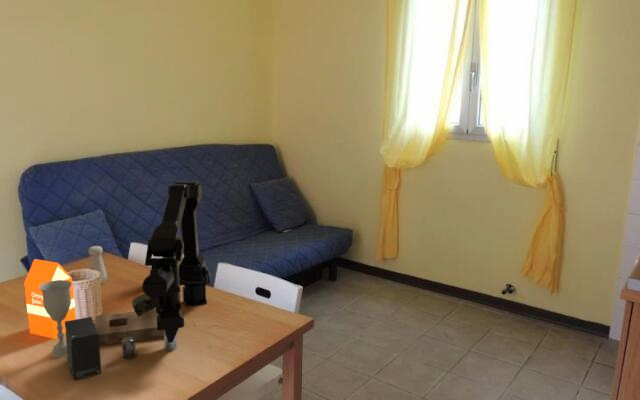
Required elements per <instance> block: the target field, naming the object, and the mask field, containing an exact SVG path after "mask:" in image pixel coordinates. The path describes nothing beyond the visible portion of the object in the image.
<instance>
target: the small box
mask: <svg viewBox="0 0 640 400" xmlns="http://www.w3.org/2000/svg"><path fill="white" fill-rule="evenodd" d="M94 323H95V321H94V320H93V318H92V316H89V317H88V316H87V317H82V318H78V319H77V318H76V320H70V321H65V330H66V333H65V341H66V342H67V356H66V357H67V359H66V360H67V363H68V367H69V372H70V375H71V377H72V378H71V379H72V380H73V381H76V380H81V379H84V378H87V377H88V378H89V377H92V376H95V375H99V374H102V366H101V365H102V362H101V348H100V347H101V345H99V333H98V331H97V329H96V326H95V324H94Z"/></svg>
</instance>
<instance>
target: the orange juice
mask: <svg viewBox="0 0 640 400" xmlns="http://www.w3.org/2000/svg"><path fill="white" fill-rule="evenodd" d="M56 280H66V281H70V282H71V286H70V297H71V304H70V308H69V311H68V313H67V315H66V318H65V319H64V320H62V322H61V323H62V326H63V329H62V332H63V333H64V334H66V330H65V321H70V320H76V319H77V318H76V305H75V304H76V303H75V296H74V285H73V277H71V276H70V275H69V273H68V272H67V271H66V270H65V269H64V268H63V266H61V265H60V264H59V262H54V261H48V260H43V259H38V258H37V259H36V258H34V259H33V261H32V264H31V266H30V269H29V271H28V273H27V275H26V277H25V280H24V282H23V284H24V285H23V286H24V293H25V301H26V311H27V319H28V327H29V334H31V335H32V334H33V335H37V336H40V337H46V338H50V339H54V340H55V339H57V338H58V336H57V334H58V330H57V329H56V328H57V321H53V320H52V318H51V317H50V316H49V314H48V313H47V311H46V310H45V308H44V304H43V294H42V291H41V290H40V288H39V286H40V285H42V284H44V283H46V282H50V281H56Z"/></svg>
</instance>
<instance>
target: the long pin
mask: <svg viewBox="0 0 640 400" xmlns="http://www.w3.org/2000/svg"><path fill="white" fill-rule="evenodd" d="M163 339H164V340H163V341H164V351H165V352H173V351H176V350H177V348H178V346H177V345H178V344H177V343H178V342H177V335H176V336H175V338H174V341H173V342H171V343H169V342H168V339H167V336H166V333H165V330H164V337H163Z"/></svg>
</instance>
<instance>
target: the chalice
mask: <svg viewBox="0 0 640 400" xmlns="http://www.w3.org/2000/svg"><path fill="white" fill-rule="evenodd" d="M70 286H71V282H70V281H66V280H56V281H50V282H46V283H44V284H42V285H40V286H39V288H40V290H41V291H42V294H43V304H44V308H45V310H46V311H47V313H48V314H49V316H50V317H51V318H52V320H53V321H57V328H56V329H57V330H58V334H57V336H58V337H57V338H58V341H57V343H55V344H54V345H53V347H52V352H51V354H50V355H51V356H52V357H53V358H64V357H67V342H66V340H64V336H65V333H63V332H62V329H63V326H62V323H61V322H62V320H64V319H65V318H66V315H67V313H68V311H69V308H70V304H71V297H70Z"/></svg>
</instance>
